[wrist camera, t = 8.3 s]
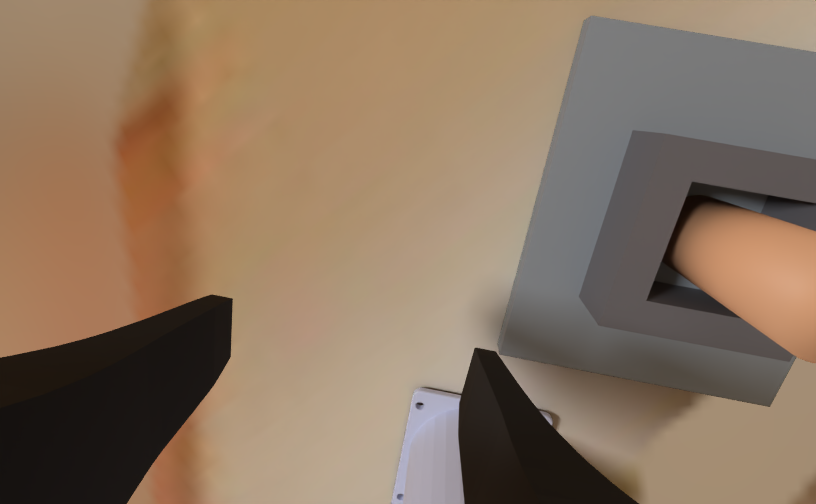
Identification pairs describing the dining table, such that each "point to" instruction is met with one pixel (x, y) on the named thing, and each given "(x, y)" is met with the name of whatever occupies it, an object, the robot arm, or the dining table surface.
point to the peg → (750, 268)
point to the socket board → (660, 205)
